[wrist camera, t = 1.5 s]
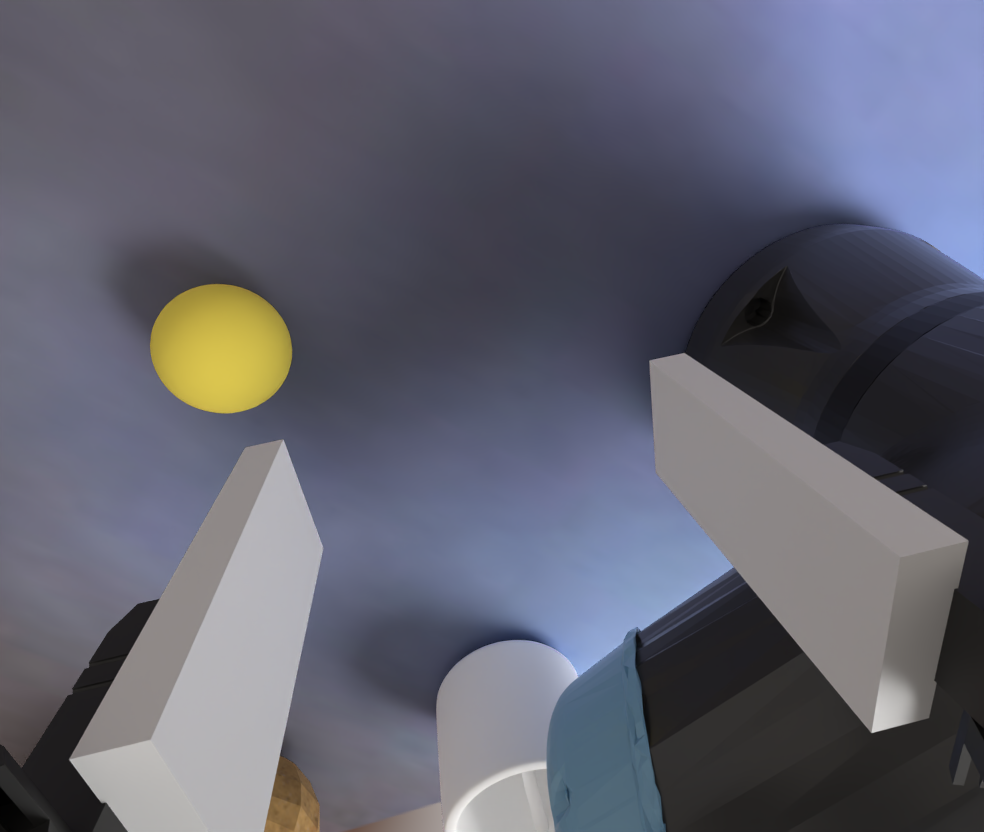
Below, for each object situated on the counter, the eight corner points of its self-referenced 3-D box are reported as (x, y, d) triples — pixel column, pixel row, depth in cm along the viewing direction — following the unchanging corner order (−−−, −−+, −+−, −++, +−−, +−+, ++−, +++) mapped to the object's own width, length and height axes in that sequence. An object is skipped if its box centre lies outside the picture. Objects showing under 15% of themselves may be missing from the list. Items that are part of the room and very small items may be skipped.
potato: (84, 738, 35) (1, 885, 28) (311, 692, 37) (289, 822, 29) (141, 832, 39) (82, 982, 32) (345, 788, 41) (332, 924, 33)
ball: (280, 263, 26) (251, 285, 21) (315, 374, 28) (297, 418, 23) (158, 287, 26) (99, 315, 21) (204, 397, 28) (161, 447, 23)
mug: (601, 725, 42) (650, 862, 34) (467, 769, 42) (483, 917, 33) (567, 607, 37) (615, 734, 29) (415, 656, 37) (418, 798, 28)
